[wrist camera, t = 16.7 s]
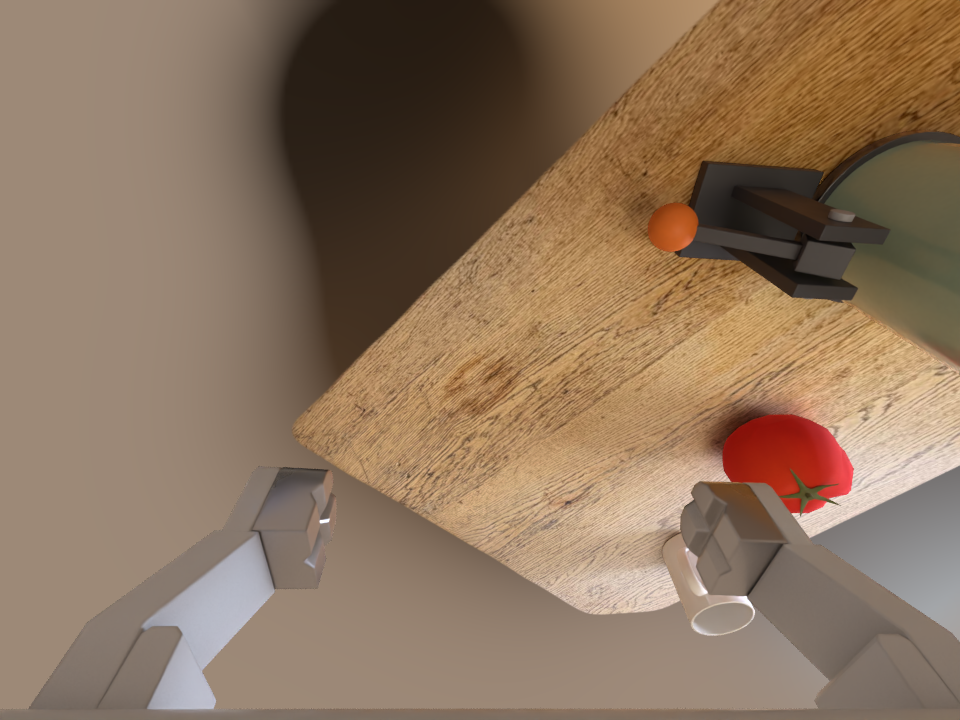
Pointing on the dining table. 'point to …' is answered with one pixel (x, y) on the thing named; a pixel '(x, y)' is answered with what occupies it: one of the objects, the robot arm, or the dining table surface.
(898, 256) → the green canister
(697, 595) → the mug
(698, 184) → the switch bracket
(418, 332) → the dining table surface
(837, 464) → the tomato
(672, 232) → the switch
